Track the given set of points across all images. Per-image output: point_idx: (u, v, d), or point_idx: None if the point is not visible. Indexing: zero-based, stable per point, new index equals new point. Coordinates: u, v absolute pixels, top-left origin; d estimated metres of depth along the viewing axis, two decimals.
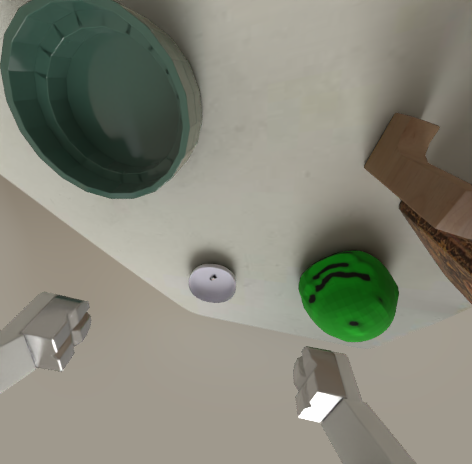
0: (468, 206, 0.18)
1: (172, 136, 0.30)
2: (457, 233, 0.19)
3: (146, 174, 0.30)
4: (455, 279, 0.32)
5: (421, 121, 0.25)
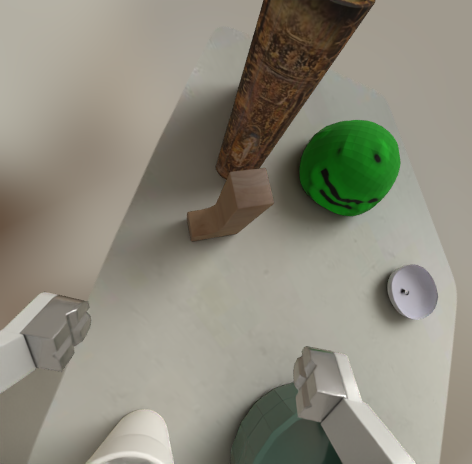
0: (246, 196, 0.20)
1: None
2: (268, 183, 0.21)
3: None
4: None
5: (191, 228, 0.30)
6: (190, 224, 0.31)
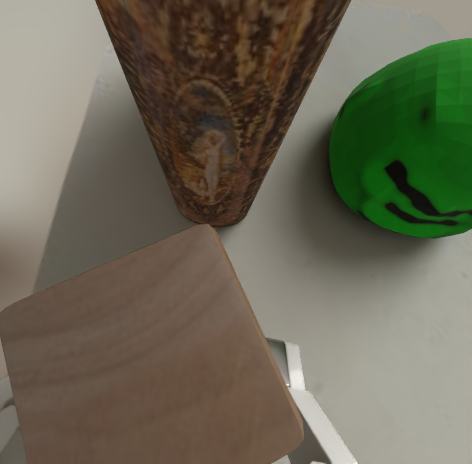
0: (110, 460, 0.03)
1: None
2: (238, 315, 0.03)
3: None
4: None
5: None
6: None
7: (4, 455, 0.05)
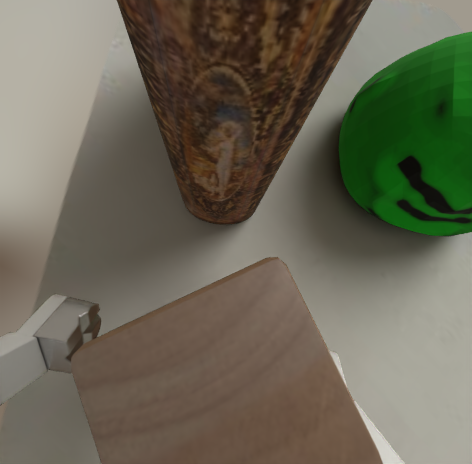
0: None
1: None
2: (318, 353, 0.03)
3: None
4: None
5: None
6: None
7: None
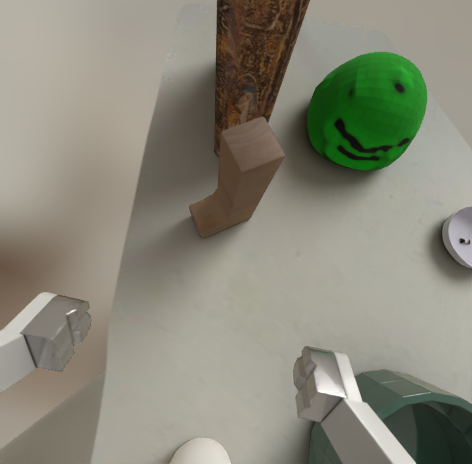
0: (249, 155, 0.16)
1: None
2: (271, 133, 0.17)
3: (441, 408, 0.24)
4: None
5: (197, 222, 0.26)
6: (195, 218, 0.27)
7: None
